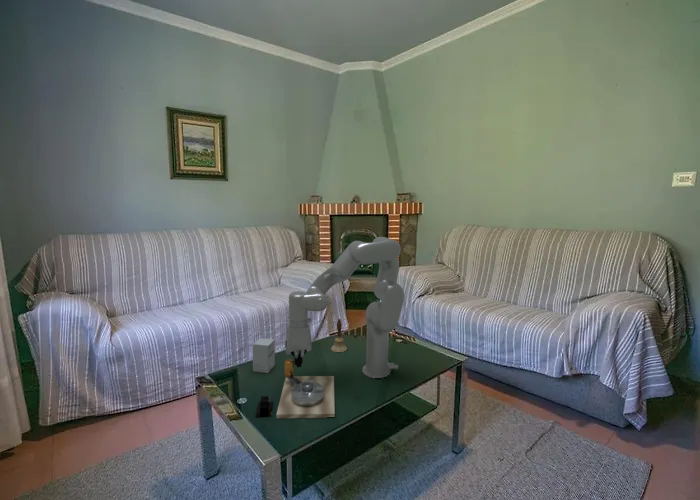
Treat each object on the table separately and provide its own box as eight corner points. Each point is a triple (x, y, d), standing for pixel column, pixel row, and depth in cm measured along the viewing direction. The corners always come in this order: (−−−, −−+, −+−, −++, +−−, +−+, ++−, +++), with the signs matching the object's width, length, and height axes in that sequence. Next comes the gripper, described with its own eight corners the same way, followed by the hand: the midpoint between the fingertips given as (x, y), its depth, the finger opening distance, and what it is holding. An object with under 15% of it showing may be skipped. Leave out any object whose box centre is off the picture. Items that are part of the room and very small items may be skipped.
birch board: (333, 379, 145) (333, 375, 144) (334, 417, 119) (334, 413, 119) (286, 379, 143) (286, 375, 143) (276, 418, 118) (276, 414, 117)
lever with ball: (329, 399, 127) (330, 376, 126) (301, 410, 120) (302, 387, 118) (299, 375, 144) (299, 355, 143) (273, 384, 136) (273, 363, 135)
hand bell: (346, 353, 170) (347, 322, 168) (330, 352, 170) (330, 321, 168) (347, 346, 178) (347, 316, 176) (331, 345, 179) (331, 316, 176)
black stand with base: (273, 420, 117) (273, 408, 117) (251, 422, 116) (251, 409, 116) (276, 400, 130) (276, 388, 129) (256, 401, 129) (256, 389, 128)
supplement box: (268, 373, 148) (267, 345, 147) (252, 371, 150) (251, 344, 148) (275, 365, 155) (275, 339, 154) (260, 363, 157) (259, 337, 155)
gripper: (313, 317, 144) (313, 358, 146) (277, 321, 138) (278, 364, 140) (319, 323, 137) (318, 366, 139) (282, 328, 131) (282, 373, 133)
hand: (298, 365), depth 140 cm, fingers closed
